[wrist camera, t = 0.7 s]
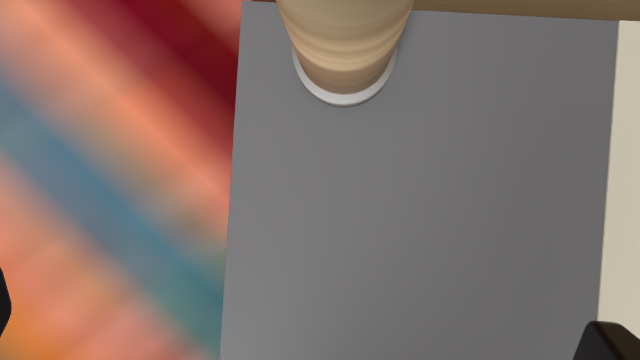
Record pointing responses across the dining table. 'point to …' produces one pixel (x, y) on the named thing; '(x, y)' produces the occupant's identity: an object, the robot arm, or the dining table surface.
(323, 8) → the tan cylinder
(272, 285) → the subfloor board
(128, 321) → the dining table surface
